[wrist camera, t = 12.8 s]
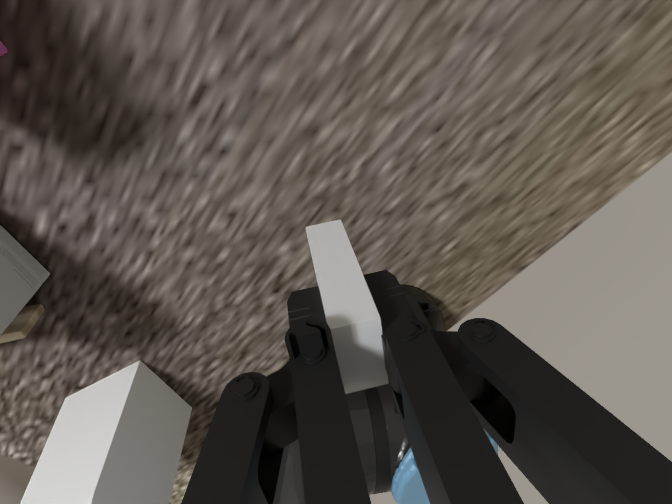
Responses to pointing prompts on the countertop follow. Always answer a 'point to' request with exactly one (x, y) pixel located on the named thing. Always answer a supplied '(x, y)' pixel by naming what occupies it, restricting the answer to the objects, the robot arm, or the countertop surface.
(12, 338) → the box
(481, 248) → the countertop surface
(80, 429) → the milk
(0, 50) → the gum box
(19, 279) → the supplement box
